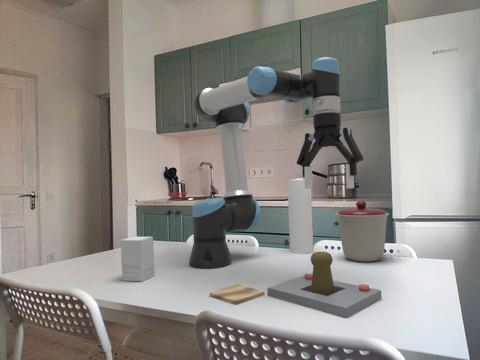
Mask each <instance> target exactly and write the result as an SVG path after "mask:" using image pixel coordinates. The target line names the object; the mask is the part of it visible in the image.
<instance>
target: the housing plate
mask: <svg viewBox="0 0 480 360" xmlns="http://www.w3.org/2000/svg"><path fill="white" fill-rule="evenodd" d="M312 275H313V273H305V274H304V275H302V276H301V275H300V276H298V277H295V278H291V279H289V280H286V281H284V282H280V283H278V284H274V285H271V286H267V289H266V290H267V296H269V297H272V298H276V299H279V300H283V301H285V302H286V301H287V302H289V303H292V304H297V305H300V306H303V307H307V308H311V309H314V310H318V311H321V312H325V313H328V314H333V315H335V316H339V317H343V318H346V319H347V318H349V317H350V316H352V315H354V314H356V313H358V312H359V311H361V310H363V309H365V308H367V307H369V306H371V305H373V304H374V303H377V302H378V301H380V300H382V290H381V289H378V288H373V287H370V285H368V284H363V283H362V284H359V285H357V284H353V283H347V282H344V281H338V280H333V285H334V291H335V293H334V294H331V295H329V296H325V295H321V294H317V293H312V292H311V285H312Z"/></svg>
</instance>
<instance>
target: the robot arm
mask: <svg viewBox="0 0 480 360" xmlns="http://www.w3.org/2000/svg"><path fill="white" fill-rule="evenodd" d="M311 66H312V67H311V71H308V72H305V73H303V74H296V73H292V72H288V71H283V70H279V69H276V68H271V67H268V66H258V65H257V66H254V67H253V68H252V69H251V71H249V73H248V75H247V76H244V77H242V78H240V79H237V80H234V81H232V82H229V83H226V84H224V85H220V86H218V87H215V88H213V87H207V88H205V89H202V90H200V91H198V92H197V93H196V94H195V95H194V96H193V100H192V109H193V111H194V113H195V115H196V116H197V117H198V118H199V119H200V120H202V121H204V122H209V123H210V122H211V123H215V130H216V131H217V132H219V134H220V143H221V144H220V145H221V154H222V164H223V175H224V184H225V194H224V195H223V196H222V197H213V198H207V199H201V200H198V201H195V202H194V204H192V214H191V216H192V233H193V234H192V235H193V244H192V248H191V252H190V256H189V257H188V258H189V261H188V262H189V266H190V267H192V268H195V269H214V268H215V269H217V268H223V267H227V266H229V265H231V264H232V255H231V253H230V249H229V246H228V243H227V240H226V236H227V235H226V233H231V232H232V233H233V232H238V231H239V232H241V231H242V232H243V231H248V230H251V229H254V228H255V227H256V226H257V225H258V223H259V221H260V218H261V206H260V204H259V202H258V201H257V200H256V199H254V197H253V192H251V191H249V188H248V187H249V186H248V177H247V176H248V175H247V167H246V160H245V149H244V141H243V140H244V139H243V130H244V129H245V127H246V123H247V122H248V121H249V116H250V113H251V111H250V105H249V102H253V101H256V100H260V99H264V98H268V97H274V98H279V99H282V101H284V102H285V103H287V104H293V103H294V104H295V103H299V102H302V101H305V100H308V99H312V102H313V103H312V106H313V107H312V108H313V109H312V110H313V114H314V116H313V130H314V133H309V132H306V133H305V134H304V141H303V144H302V147H301V150H300V152H299V155H298V157H297V161H296V164H297V165H299V166H301V167H302V178H304V179H305V189H310V188H311V189H313V167H312V166H311V164H312V162H313V161H314V160H315V158H316V156H317V155H318V154H319V152H320V150H321V149H323V148H328V147H335V148H336V150H338V151H339V153H340V154H341V155H342V157H343V158H344V159H345V160H346V161H347V163H345V179H346V181H345V182H346V184H345V185H346V189H355V176H357V164H358V163H360V162H363V161H364V156H363V155H362V152H361V151H360V149H359V147H358V144H357V143H356V140H355V139H354V137H353V133H352V128H350V127H343V128H342V129H341V125H342V123H341V120H342V119H341V113H340V112H341V94H340V91H341V90H340V87H341V86H340V83H341V81H340V79H341V77H340V76H341V73H340V64H339V60H338V59H337V58H334V57H331V56H330V57H329V56H325V57H319V58H317V59H315V60H314V61H313V62H312V65H311ZM341 136H342V137H343V138H344V140H345V142H346V144H347V146H348V148H349V149H348V148H347V147H346V146H345V144H344V143H343V141H342V140H341V139H340V137H341Z"/></svg>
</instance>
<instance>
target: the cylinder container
mask: <svg viewBox="0 0 480 360" xmlns="http://www.w3.org/2000/svg"><path fill="white" fill-rule="evenodd" d="M287 200H288V203H287V204H288V206H287V207H288V227H289V228H288V231H289V233H288V234H289V252H290V253H292V254H299V255H302V254H313V253H314V238H313V237H314V234H313V207H312V206H313V205H312V188H310V189H305V178H303V177H300V178H297V177H296V178H295V179H294V178H293V179H287Z"/></svg>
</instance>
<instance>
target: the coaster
mask: <svg viewBox="0 0 480 360" xmlns="http://www.w3.org/2000/svg"><path fill="white" fill-rule="evenodd" d="M265 292H266V291H264V290H262V289H257V288H254V287H250V286H246V285H243V284H240V283H238V284H234V285H231V286H228V287H224V288H221V289H218V290H214V291H211V292H209V296H210V297H211V298H215V299H218V300H222V301H223V302H227V303H229V304H233V305H235V306H236V305H239V304H242V303H246V302H247V301H250V300H253V299H256V298H259V297H263V296H265V295H266V293H265Z"/></svg>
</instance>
